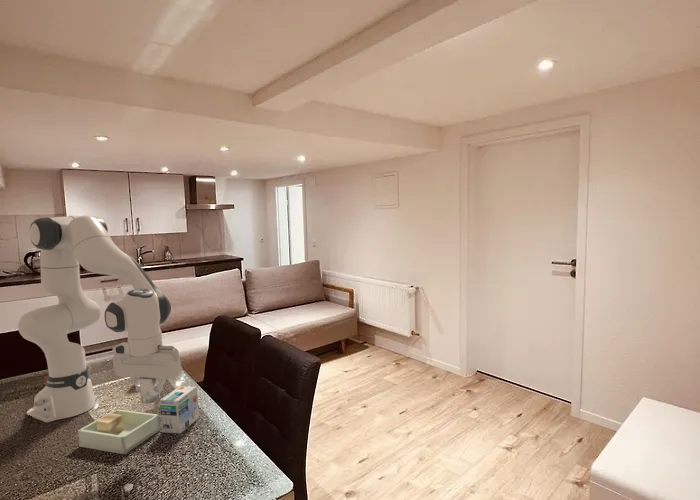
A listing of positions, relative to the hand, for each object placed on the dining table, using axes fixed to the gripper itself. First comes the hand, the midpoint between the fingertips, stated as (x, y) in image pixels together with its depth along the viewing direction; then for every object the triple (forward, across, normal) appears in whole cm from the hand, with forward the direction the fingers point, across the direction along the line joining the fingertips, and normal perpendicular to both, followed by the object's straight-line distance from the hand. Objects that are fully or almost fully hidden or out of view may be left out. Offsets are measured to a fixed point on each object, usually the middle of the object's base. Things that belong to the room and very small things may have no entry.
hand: (149, 391), depth 117 cm
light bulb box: (+17, -1, -12) cm, 21 cm away
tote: (+17, +14, -2) cm, 22 cm away
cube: (+16, +18, -3) cm, 24 cm away
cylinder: (+3, 0, 0) cm, 3 cm away
